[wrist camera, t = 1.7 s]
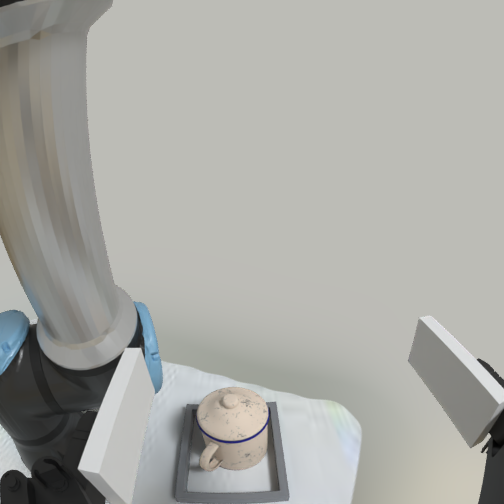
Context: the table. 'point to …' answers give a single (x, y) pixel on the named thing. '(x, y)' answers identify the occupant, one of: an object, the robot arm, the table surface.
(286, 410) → the table surface
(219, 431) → the teacup with lid
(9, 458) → the table surface
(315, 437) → the table surface
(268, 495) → the holder tray
